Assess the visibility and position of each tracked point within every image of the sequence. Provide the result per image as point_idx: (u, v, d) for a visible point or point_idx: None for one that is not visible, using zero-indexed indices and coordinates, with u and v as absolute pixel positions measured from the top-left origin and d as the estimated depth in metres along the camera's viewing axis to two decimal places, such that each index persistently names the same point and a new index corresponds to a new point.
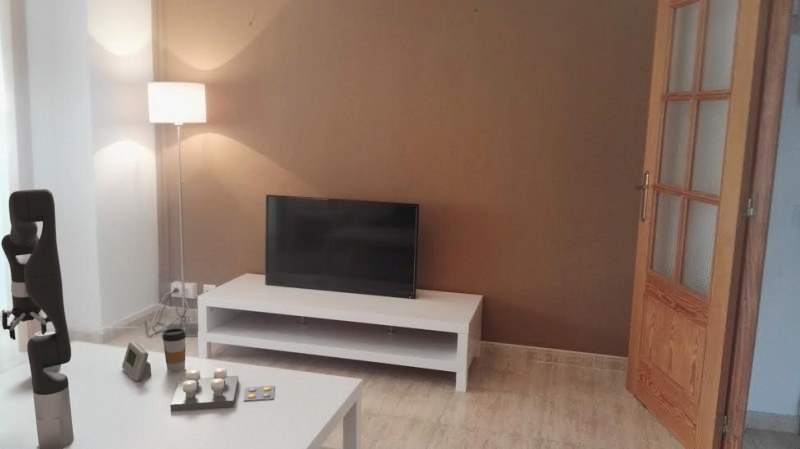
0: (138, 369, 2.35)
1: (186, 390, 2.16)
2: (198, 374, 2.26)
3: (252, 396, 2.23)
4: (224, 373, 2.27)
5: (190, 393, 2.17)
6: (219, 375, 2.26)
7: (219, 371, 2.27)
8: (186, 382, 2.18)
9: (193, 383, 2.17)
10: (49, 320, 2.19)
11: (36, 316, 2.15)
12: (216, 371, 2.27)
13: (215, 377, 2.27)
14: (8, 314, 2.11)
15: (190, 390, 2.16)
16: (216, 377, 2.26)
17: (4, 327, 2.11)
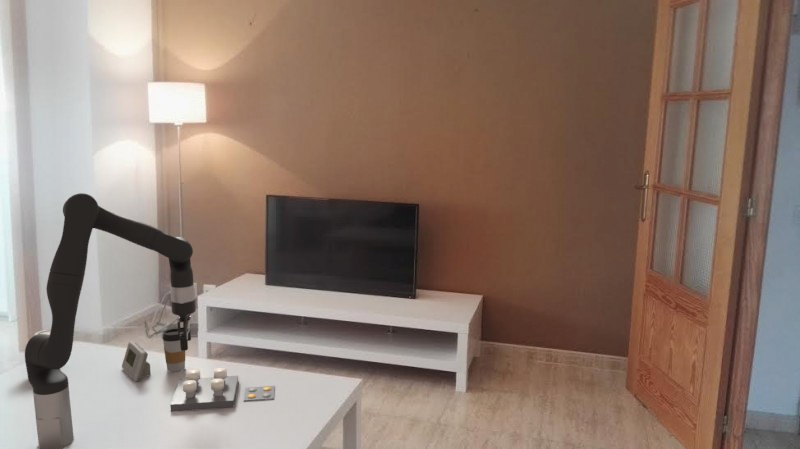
0: (137, 369, 2.35)
1: (186, 390, 2.16)
2: (198, 374, 2.26)
3: (252, 396, 2.23)
4: (224, 373, 2.27)
5: (190, 393, 2.17)
6: (219, 375, 2.26)
7: (219, 371, 2.27)
8: (186, 382, 2.18)
9: (193, 383, 2.17)
10: None
11: None
12: (216, 371, 2.27)
13: (215, 377, 2.27)
14: None
15: (190, 390, 2.16)
16: (216, 377, 2.26)
17: None
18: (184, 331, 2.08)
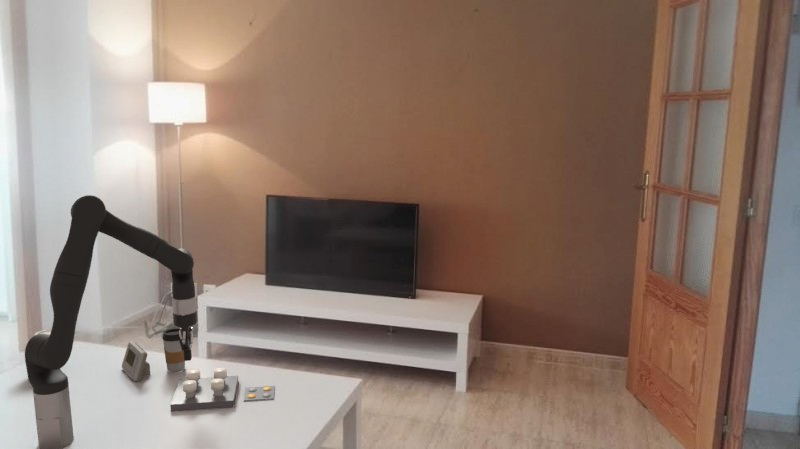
0: (137, 369, 2.35)
1: (186, 390, 2.16)
2: (198, 374, 2.26)
3: (252, 396, 2.23)
4: (224, 373, 2.27)
5: (190, 393, 2.17)
6: (219, 375, 2.26)
7: (219, 371, 2.27)
8: (186, 382, 2.18)
9: (193, 383, 2.17)
10: None
11: None
12: (216, 371, 2.27)
13: (215, 377, 2.27)
14: None
15: (190, 390, 2.16)
16: (216, 377, 2.26)
17: None
18: (187, 346, 2.11)
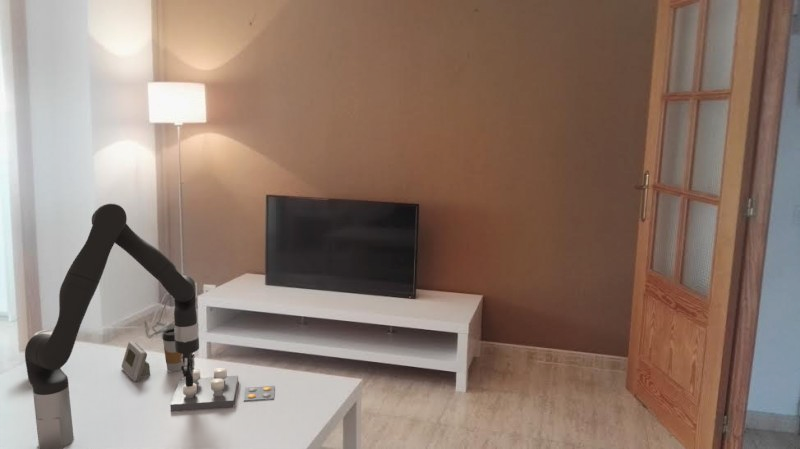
0: (136, 369, 2.35)
1: (186, 393, 2.16)
2: (198, 374, 2.26)
3: (252, 396, 2.23)
4: (224, 373, 2.27)
5: (190, 396, 2.17)
6: (219, 375, 2.26)
7: (219, 371, 2.27)
8: None
9: (193, 386, 2.18)
10: None
11: (182, 364, 2.15)
12: (216, 371, 2.27)
13: (215, 377, 2.27)
14: None
15: (190, 393, 2.16)
16: (216, 377, 2.26)
17: None
18: (189, 372, 2.13)
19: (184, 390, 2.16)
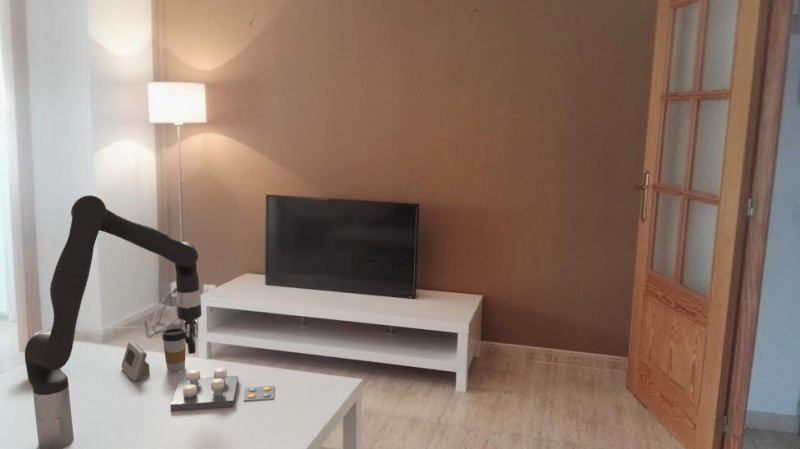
0: (136, 369, 2.35)
1: (186, 394, 2.16)
2: (198, 374, 2.26)
3: (252, 396, 2.23)
4: (224, 373, 2.27)
5: (190, 397, 2.18)
6: (219, 375, 2.26)
7: (219, 371, 2.27)
8: (186, 386, 2.18)
9: (193, 387, 2.18)
10: (186, 341, 2.14)
11: None
12: (216, 371, 2.27)
13: (215, 377, 2.27)
14: None
15: (190, 394, 2.16)
16: (216, 377, 2.26)
17: None
18: (191, 339, 2.12)
19: (184, 392, 2.16)
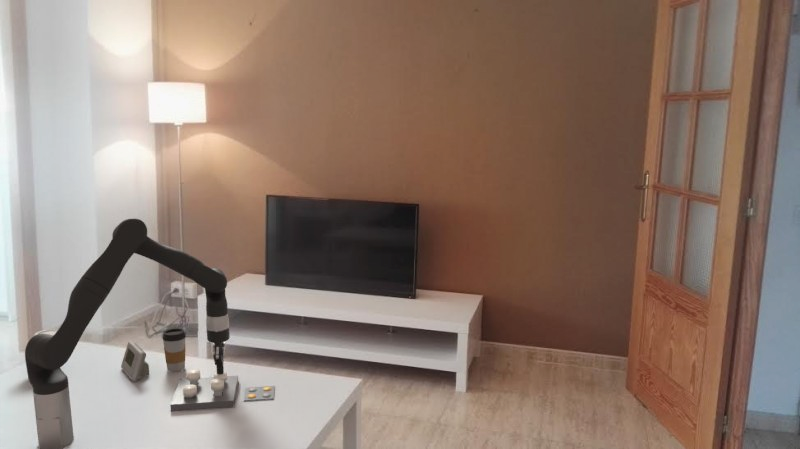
0: (135, 369, 2.35)
1: (186, 394, 2.16)
2: (198, 374, 2.26)
3: (252, 396, 2.23)
4: (224, 376, 2.27)
5: (190, 397, 2.18)
6: None
7: (219, 374, 2.27)
8: (186, 386, 2.18)
9: (193, 387, 2.18)
10: (215, 362, 2.25)
11: None
12: (216, 374, 2.27)
13: None
14: None
15: (190, 394, 2.16)
16: None
17: None
18: (220, 361, 2.23)
19: (184, 392, 2.16)
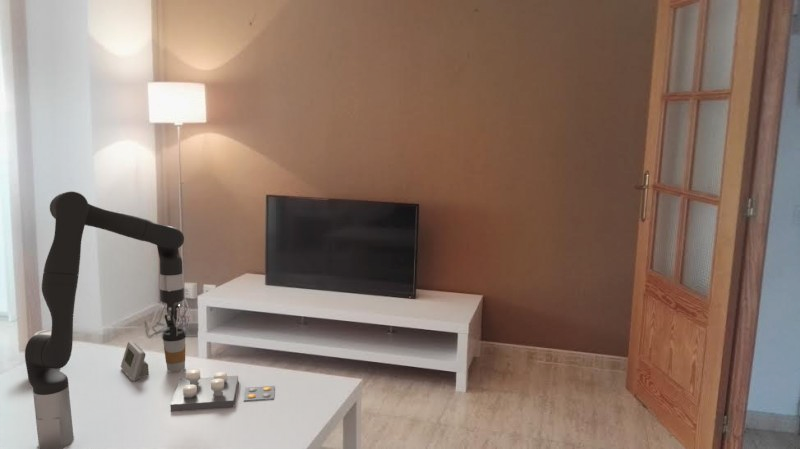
0: (135, 369, 2.35)
1: (186, 394, 2.16)
2: (198, 374, 2.26)
3: (252, 396, 2.23)
4: (224, 377, 2.27)
5: (190, 397, 2.18)
6: None
7: (219, 375, 2.27)
8: (186, 386, 2.18)
9: (193, 387, 2.18)
10: None
11: None
12: (216, 375, 2.27)
13: None
14: None
15: (190, 394, 2.16)
16: None
17: None
18: (172, 322, 2.12)
19: (184, 392, 2.16)
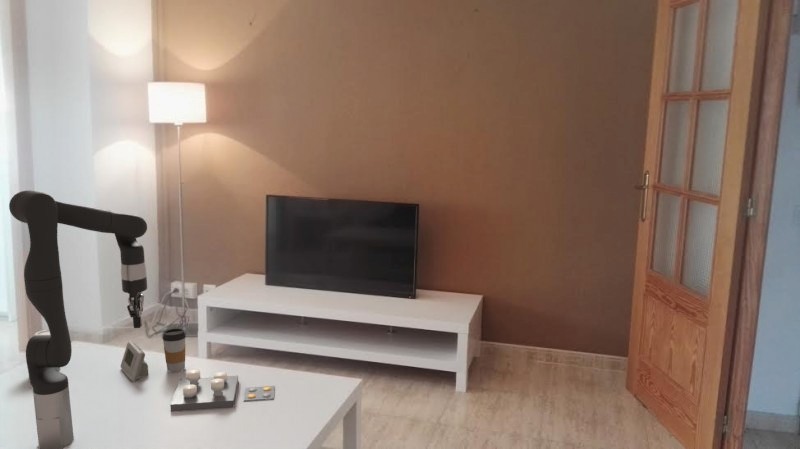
0: (134, 369, 2.35)
1: (186, 394, 2.16)
2: (198, 374, 2.26)
3: (252, 396, 2.23)
4: (224, 377, 2.27)
5: (190, 397, 2.18)
6: None
7: (219, 375, 2.27)
8: (186, 386, 2.18)
9: (193, 387, 2.18)
10: None
11: None
12: (216, 375, 2.27)
13: None
14: None
15: (190, 394, 2.16)
16: None
17: None
18: (135, 312, 2.08)
19: (184, 392, 2.16)
